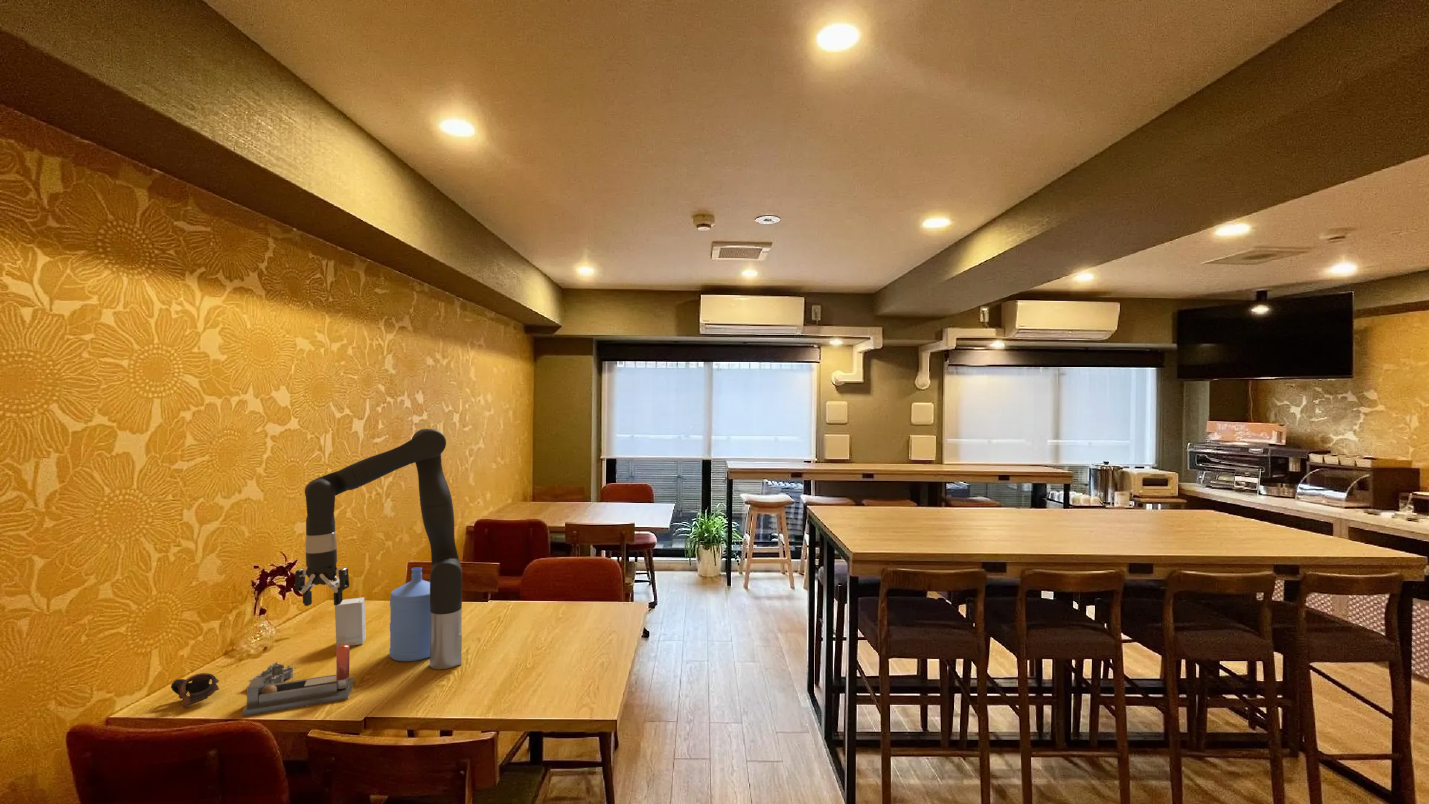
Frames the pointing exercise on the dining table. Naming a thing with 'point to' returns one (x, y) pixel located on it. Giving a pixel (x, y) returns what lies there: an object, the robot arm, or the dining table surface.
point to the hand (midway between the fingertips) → (322, 604)
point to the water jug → (410, 619)
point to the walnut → (269, 689)
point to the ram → (341, 670)
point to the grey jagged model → (276, 674)
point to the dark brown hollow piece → (195, 688)
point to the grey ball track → (291, 695)
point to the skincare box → (350, 622)
